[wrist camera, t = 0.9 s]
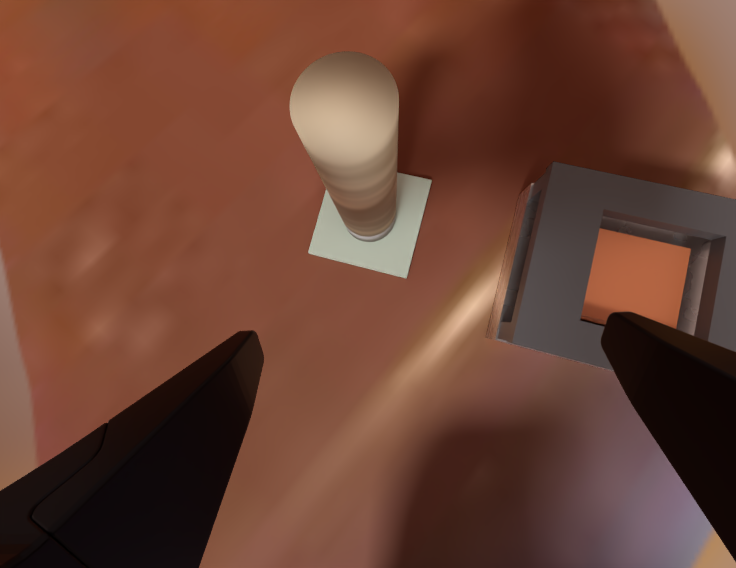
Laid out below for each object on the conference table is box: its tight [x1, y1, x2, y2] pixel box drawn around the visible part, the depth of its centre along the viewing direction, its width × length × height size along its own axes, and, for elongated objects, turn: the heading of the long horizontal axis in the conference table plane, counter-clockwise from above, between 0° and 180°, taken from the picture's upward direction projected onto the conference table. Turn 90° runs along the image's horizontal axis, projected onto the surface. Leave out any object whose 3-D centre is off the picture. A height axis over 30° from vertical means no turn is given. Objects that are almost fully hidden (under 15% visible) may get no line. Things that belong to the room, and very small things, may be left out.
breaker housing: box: [486, 183, 711, 372], centre depth 20 cm, size 10×12×2 cm
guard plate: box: [497, 161, 736, 370], centre depth 18 cm, size 10×12×3 cm
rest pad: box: [308, 172, 432, 278], centre depth 23 cm, size 7×7×1 cm
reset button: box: [581, 228, 691, 329], centre depth 19 cm, size 5×5×2 cm
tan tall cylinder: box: [290, 52, 399, 242], centre depth 17 cm, size 4×4×12 cm
